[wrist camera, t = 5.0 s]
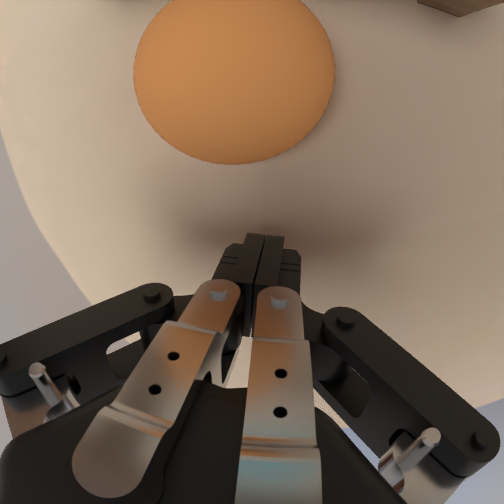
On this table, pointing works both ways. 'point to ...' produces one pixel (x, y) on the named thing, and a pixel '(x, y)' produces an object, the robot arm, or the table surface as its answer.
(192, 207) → the table surface
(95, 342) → the robot arm
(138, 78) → the orange ball
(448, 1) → the bridge
